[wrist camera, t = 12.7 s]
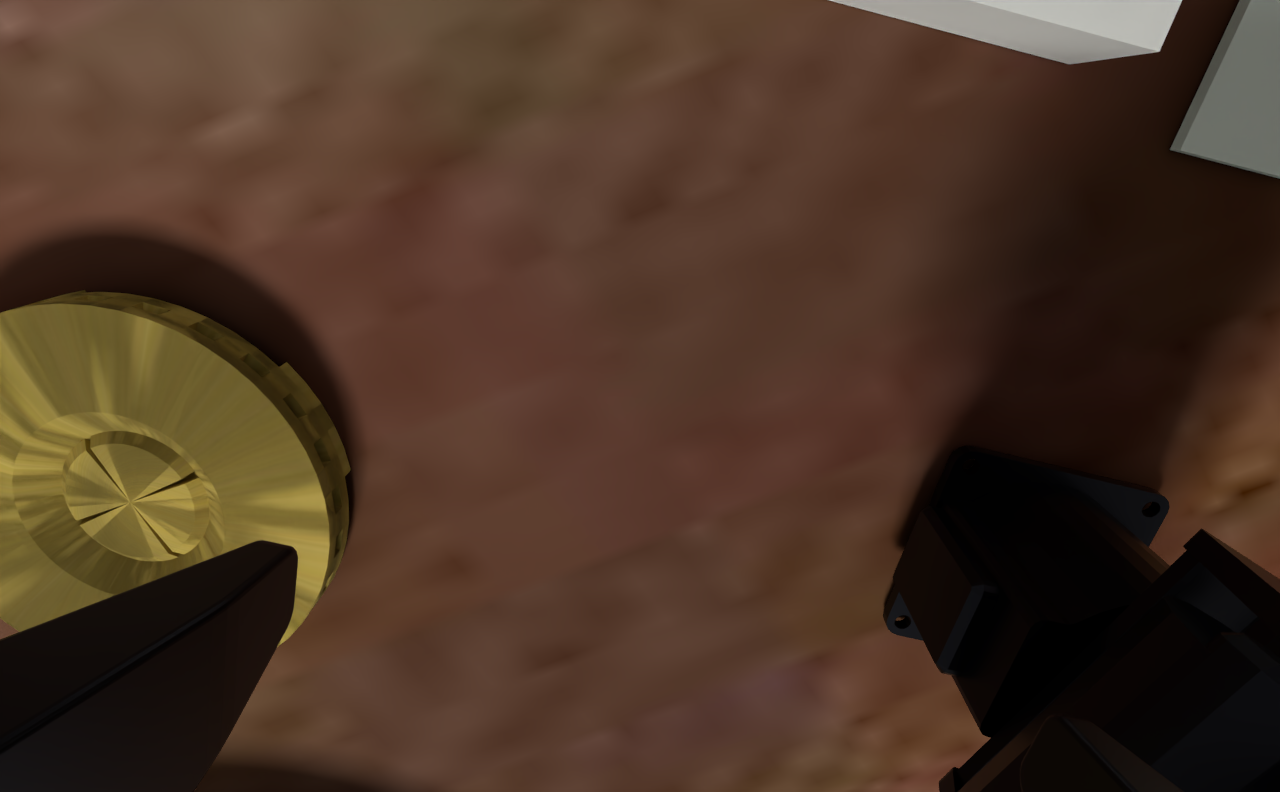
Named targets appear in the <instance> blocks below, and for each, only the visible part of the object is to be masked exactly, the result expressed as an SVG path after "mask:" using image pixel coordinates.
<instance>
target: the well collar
mask: <svg viewBox="0 0 1280 792" xmlns="http://www.w3.org/2000/svg"><path fill="white" fill-rule="evenodd" d="M830 1H833V2H837V3H841V4H845V5H848V6H852V7H856V8H860V9H863V10H867V11H871V12H875V13H878V14H882V15H886V16H890V17H893V18H897V19H901V20H905V21H908V22H912V23H916V24H920V25H923V26H927V27H931V28H935V29H938V30H942V31H946V32H949V33H953V34H957V35H961V36H964V37H968V38H972V39H976V40H979V41H983V42H987V43H991V44H994V45H998V46H1002V47H1006V48H1009V49H1013V50H1017V51H1021V52H1024V53H1028V54H1032V55H1036V56H1039V57H1043V58H1047V59H1051V60H1054V61H1058V62H1062V63H1066V64H1069V65H1070V64H1077V63H1084V62H1091V61H1098V60H1105V59H1112V58H1119V57H1126V56H1134V55H1141V54H1148V53H1155V52H1160V49H1161V47H1162V45H1163V43H1164V40H1165V38H1166V36H1167V34H1168V31H1169V29H1170V27H1171V25H1172V22H1173V20H1174V18H1175V16H1176V13H1177V11H1178V9H1179V6H1180V4H1181V2H1182V0H830Z"/></svg>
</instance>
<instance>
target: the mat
mask: <svg viewBox="0 0 1280 792" xmlns="http://www.w3.org/2000/svg"><path fill="white" fill-rule="evenodd" d="M1170 150H1172V151H1176V152H1180V153H1183V154H1187V155H1191V156H1195V157H1199V158H1202V159H1206V160H1210V161H1214V162H1218V163H1222V164H1225V165H1229V166H1233V167H1237V168H1241V169H1244V170H1248V171H1252V172H1256V173H1260V174H1263V175H1267V176H1271V177H1275V178H1279V179H1280V0H1239V2H1238V5H1237V7H1236V9H1235V11H1234V13H1233V15H1232V17H1231V20H1230V22H1229V24H1228V26H1227V28H1226V30H1225V32H1224V35H1223V37H1222V39H1221V41H1220V43H1219V45H1218V47H1217V50H1216V52H1215V54H1214V56H1213V58H1212V60H1211V62H1210V65H1209V67H1208V69H1207V71H1206V73H1205V75H1204V77H1203V80H1202V82H1201V84H1200V86H1199V88H1198V90H1197V92H1196V95H1195V97H1194V99H1193V101H1192V103H1191V105H1190V107H1189V110H1188V112H1187V114H1186V116H1185V118H1184V120H1183V122H1182V124H1181V127H1180V129H1179V131H1178V133H1177V135H1176V137H1175V139H1174V142H1173V144H1172V146H1171V148H1170Z"/></svg>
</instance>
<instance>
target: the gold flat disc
mask: <svg viewBox="0 0 1280 792" xmlns="http://www.w3.org/2000/svg"><path fill="white" fill-rule="evenodd" d="M350 470H351V469H350V465H349V462H348V459H347V455H346V452H345V449H344V446H343V444H342V442H341V439H340V437H339V435H338V432H337V430H336V428H335V426H334V424H333V422H332V420H331V419H330V417H329V415H328V414H327V412H326V410H325V409H324V407H323V405H322V403H321V402H320V401H319V399H318V398H317V397H316V395H315V394H314V393H313V391H312V390H311V389H310V387H309V386H308V385H307V383H306V382H305V381H304V380H303V379H302V378H301V377H300V376H299V375H298V373H297V372H296V371H295V370H294V369H293V368H292V367H291V366H290V365H289V364H288V363H287V362H286V363H284V364H283V365H281V366H280V367H279V366H277V365H276V364H275V363H274V362H273V361H272V360H270V359H269V358H268V357H267V356H266V355H265V354H264V353H262V352H261V351H260V350H259V349H258V348H256V347H255V346H253V345H252V344H251V343H249V342H248V341H246V340H245V339H243V338H242V337H240V336H239V335H238V334H236V333H235V332H233V331H231V330H230V329H228V328H226V327H224V326H222V325H220V324H219V323H217V322H215V321H213V320H211V319H210V318H208V317H205V316H203V315H201V314H198V313H196V312H193V311H191V310H189V309H186V308H184V307H182V306H178V305H175V304H172V303H168V302H165V301H161V300H158V299H155V298H150V297H144V296H139V295H133V294H127V293H112V292H88V293H86V291H85V290H83V291H78V292H73V293H69V294H64V295H60V296H56V297H53V298H49V299H46V300H42V301H39V302H35V303H32V304H28V305H25V306H21V307H18V308H14V309H11V310H7V311H4V312H2V313H0V618H1V619H2V620H3V621H5V622H6V623H8V624H9V625H11V626H12V627H13V628H15V629H16V630H18V631H19V632H21V631H24V630H26V629H29V628H31V627H34V626H37V625H39V624H42V623H44V622H47V621H50V620H52V619H55V618H57V617H60V616H62V615H65V614H68V613H70V612H73V611H75V610H78V609H81V608H83V607H86V606H88V605H91V604H94V603H96V602H99V601H101V600H104V599H107V598H109V597H112V596H114V595H117V594H120V593H122V592H125V591H127V590H130V589H133V588H135V587H138V586H140V585H143V584H146V583H148V582H151V581H153V580H156V579H159V578H161V577H164V576H166V575H169V574H172V573H174V572H177V571H179V570H182V569H184V568H187V567H190V566H192V565H195V564H197V563H200V562H203V561H205V560H208V559H210V558H213V557H216V556H218V555H221V554H223V553H226V552H229V551H231V550H234V549H236V548H239V547H242V546H244V545H247V544H249V543H252V542H255V541H258V540H265V541H270V542H275V543H279V544H284V545H288V546H292V547H294V549H295V550H296V551H297V555H298V568H297V579H296V591H295V602H294V610H293V614H292V617H291V620H290V623H289V625H288V628H287V630H286V632H285V633H284V635H283V637H282V639H281V641H280V643H279V644H278V646H279V645H280V644H282V643H283V642H284V641H285V640H287V639H288V638H289V637H290V636H291V635H292V634H293V633H294V631H295V630H296V629H297V628H298V627H299V626H300V625H301V624H302V623H303V621H304V620H305V618H306V617H307V616H308V614H309V613H310V611H311V610H312V609H313V607H314V606H315V605H316V603H317V602H318V600H319V599H320V598H321V596H322V595H323V593H324V592H325V590H326V589H327V587H328V586H329V584H330V583H331V581H332V580H333V578H334V576H335V573H336V571H337V569H338V567H339V565H340V563H341V560H342V556H343V553H344V549H345V546H346V542H347V534H348V526H349V499H348V493H347V487H346V481H345V476H346V475H347V474H348V473H349V472H350ZM278 646H277V647H278Z"/></svg>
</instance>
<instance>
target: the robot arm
mask: <svg viewBox="0 0 1280 792" xmlns="http://www.w3.org/2000/svg"><path fill="white" fill-rule="evenodd" d="M969 459H975V461H974V464H973V465H972V467H970V468H968V469H962V465H963V464H964V462H965V461H967V460H969ZM1149 502H1152V503H1151V505H1150V507H1149V508H1147V509H1145V510H1142V509H1143V507H1144V506H1145V504H1147V503H1149ZM1168 510H1169V502H1168V500H1167V499H1166V498H1165V497H1164V496H1163V495H1161V494H1160V493H1159V492H1157V491H1156V490H1154V489H1152V488H1148V487H1144V486H1140V485H1135V484H1131V483H1127V482H1123V481H1119V480H1114V479H1110V478H1106V477H1102V476H1097V475H1093V474H1089V473H1085V472H1081V471H1076V470H1072V469H1068V468H1064V467H1059V466H1055V465H1051V464H1047V463H1042V462H1038V461H1034V460H1030V459H1026V458H1021V457H1017V456H1013V455H1009V454H1004V453H1000V452H996V451H992V450H988V449H983V448H979V447H975V446H962V447H959V448H958V449H956V450H955V451H953V453H952V454H951V456H950V457H949V459H948V462H947V464H946V466H945V469H944V471H943V473H942V476H941V478H940V480H939V483H938V485H937V487H936V490H935V492H934V494H933V497H932V499H931V501H930V504H929V506H927V507H926V508H924V509H923V510H922V511H921V512H920V514H919V516H918V518H917V521H916V523H915V525H914V528H913V530H912V533H911V535H910V537H909V540H908V542H907V544H906V547H905V549H904V551H903V554H902V556H901V558H900V561H899V563H898V566H897V568H896V570H895V573H894V575H893V580H894V582H895V586H894V588H893V591H892V593H891V595H890V598H889V600H888V602H887V605H886V607H885V609H884V613H883V618H884V621H885V623H886V625H887V628H888V629H889V630H890V631H891V632H892V633H894V634H896V635H900V636H905V637H909V638H914V639H918V640H923V641H924V643H925V645H926V647H927V649H928V651H929V653H930V655H931V657H932V659H933V661H934V663H935V664H936V666H937V668H938V669H939V671H940V672H941V673H944V674H948V675H952V677H953V679H954V681H955V683H956V685H957V687H958V689H959V691H960V692H961V694H962V696H963V698H964V700H965V702H966V704H967V706H968V708H969V710H970V712H971V714H972V716H973V718H974V719H975V721H976V723H977V725H978V727H979V729H980V731H981V733H982V734H983V735H985V736H987V737H991V739H990V740H989V741H988V742H987V743H985V744H984V745H983V746H982V747H981V748H980V749H979V750H978V751H977V752H976V753H975V754H974V755H973V756H972V757H971V758H970V759H969V760H968V761H967V762H966V763H965V764H964V765H963V766H961V767H960V768H959V769H958V768H956V767H954V768H952V769H951V770H950V771H949V772H948V773H947V774H946V775H945V776H944V777H943V778H942V779H941V780H940V781H939V791H940V792H1280V579H1278V578H1277V577H1275V576H1274V575H1272V574H1271V573H1269V572H1268V571H1266V570H1265V569H1263V568H1262V567H1260V566H1259V565H1257V564H1255V563H1254V562H1252V561H1251V560H1249V559H1248V558H1246V557H1245V556H1243V555H1242V554H1240V553H1239V552H1237V551H1236V550H1234V549H1233V548H1231V547H1229V546H1228V545H1226V544H1225V543H1223V542H1222V541H1220V540H1219V539H1217V538H1216V537H1214V536H1213V535H1211V534H1210V533H1208V532H1207V531H1205V530H1203V529H1200V530H1199V531H1198V532H1197V533H1196V534H1195V535H1194V536H1193V537H1192V538H1191V539H1190V540H1189V541H1188V542H1187V543H1186V544H1185V545H1184V546H1183V547H1184V548H1185V549H1186V550H1187V551H1186V552H1185V553H1184V554H1183V555H1182V556H1180V557H1179V558H1178V559H1177V560H1176V561H1175V562H1174V563H1173V564H1172V565H1171V566H1169V565H1168V564H1167V563H1166V562H1165V561H1164V560H1163V559H1161V558H1160V557H1159V556H1158V555H1157V554H1156V553H1155V552H1153V551H1152V550H1151V549H1150V548H1149V545H1150V543H1151V542H1152V540H1153V538H1154V536H1155V534H1156V533H1157V531H1158V529H1159V527H1160V526H1161V524H1162V522H1163V520H1164V518H1165V517H1166V515H1167V513H1168ZM297 568H298V555H297V551H296V550H295V549H294V547H292V546H288V545H284V544H279V543H275V542H270V541H265V540H258V541H255V542H252V543H249V544H247V545H244V546H242V547H239V548H236V549H234V550H231V551H229V552H226V553H223V554H221V555H218V556H216V557H213V558H210V559H208V560H205V561H203V562H200V563H197V564H195V565H192V566H190V567H187V568H184V569H182V570H179V571H177V572H174V573H172V574H169V575H166V576H164V577H161V578H159V579H156V580H153V581H151V582H148V583H146V584H143V585H140V586H138V587H135V588H133V589H130V590H127V591H125V592H122V593H120V594H117V595H114V596H112V597H109V598H107V599H104V600H101V601H99V602H96V603H94V604H91V605H88V606H86V607H83V608H81V609H78V610H75V611H73V612H70V613H68V614H65V615H62V616H60V617H57V618H55V619H52V620H50V621H47V622H44V623H42V624H39V625H37V626H34V627H31V628H29V629H26V630H24V631H21V632H18V633H16V634H13V635H11V636H8V637H5V638H3V639H0V792H193V791H194V790H195V788H196V787H197V785H198V784H199V782H200V781H201V779H202V778H203V776H204V775H205V774H206V772H207V771H208V769H209V767H210V766H211V764H212V763H213V761H214V760H215V758H216V757H217V755H218V754H219V752H220V751H221V749H222V747H223V745H224V744H225V742H226V740H227V738H228V737H229V735H230V733H231V731H232V730H233V728H234V726H235V724H236V722H237V720H238V718H239V717H240V715H241V713H242V711H243V709H244V707H245V705H246V704H247V702H248V700H249V698H250V696H251V694H252V693H253V691H254V689H255V687H256V685H257V683H258V681H259V680H260V678H261V676H262V674H263V672H264V670H265V669H266V667H267V665H268V663H269V661H270V659H271V657H272V656H273V654H274V652H275V650H276V648H277V646H278V644H279V643H280V641H281V639H282V637H283V635H284V633H285V632H286V630H287V628H288V625H289V623H290V620H291V617H292V614H293V610H294V602H295V591H296V579H297ZM901 615H906V617H905V619H903V620H901V621H896V620H895V619H896V618H897V617H899V616H901Z"/></svg>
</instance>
